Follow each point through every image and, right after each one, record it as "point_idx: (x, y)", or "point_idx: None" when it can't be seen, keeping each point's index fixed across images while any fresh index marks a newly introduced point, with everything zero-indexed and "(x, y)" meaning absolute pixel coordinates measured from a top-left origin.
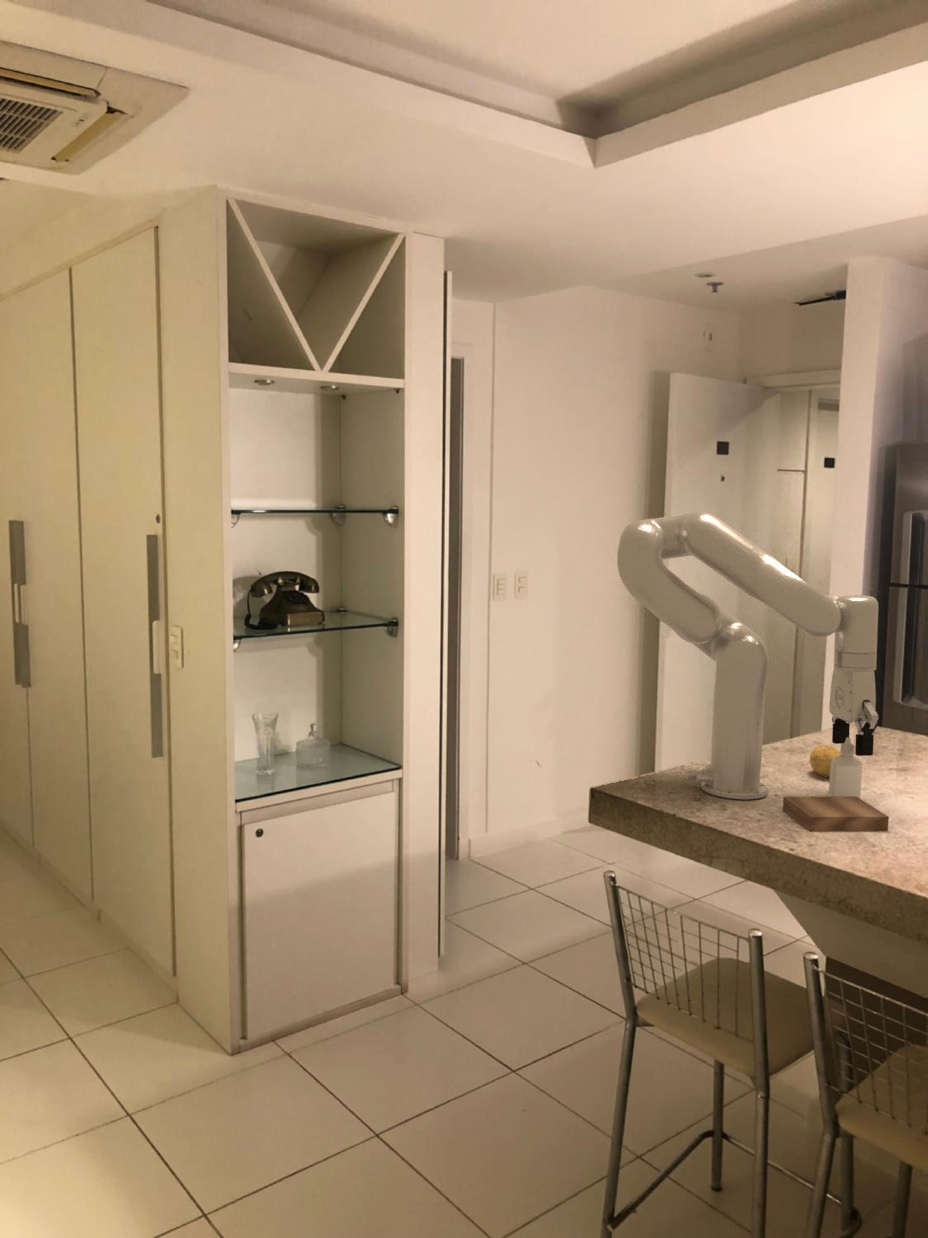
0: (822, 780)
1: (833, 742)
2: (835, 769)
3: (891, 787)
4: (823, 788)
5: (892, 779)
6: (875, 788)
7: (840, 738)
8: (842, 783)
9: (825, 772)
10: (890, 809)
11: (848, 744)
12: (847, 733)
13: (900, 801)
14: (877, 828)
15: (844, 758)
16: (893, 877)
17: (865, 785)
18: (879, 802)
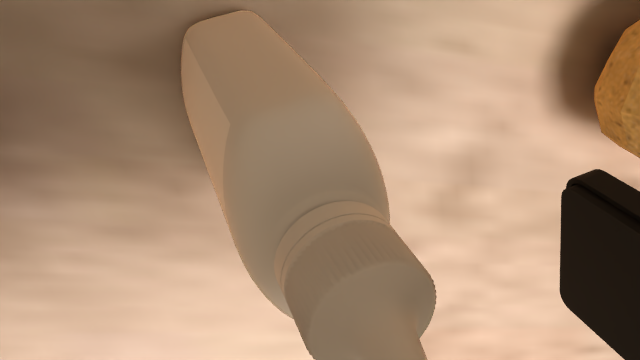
0: (585, 29)
1: (575, 179)
2: (225, 103)
3: (477, 310)
4: (440, 8)
5: None
6: (459, 255)
7: (597, 262)
8: (196, 119)
9: (612, 55)
10: (99, 306)
11: (338, 337)
12: (632, 350)
13: (267, 341)
14: None
15: (266, 220)
16: None
17: (502, 219)
18: (222, 264)
